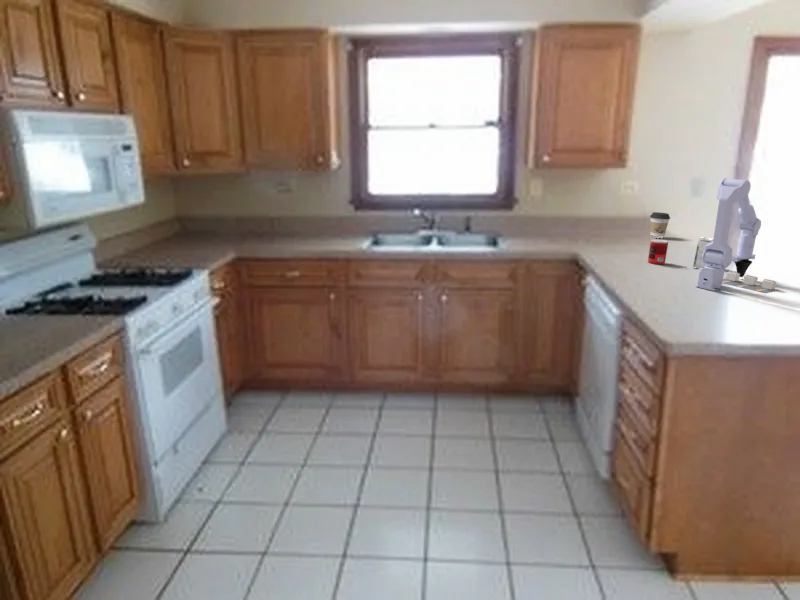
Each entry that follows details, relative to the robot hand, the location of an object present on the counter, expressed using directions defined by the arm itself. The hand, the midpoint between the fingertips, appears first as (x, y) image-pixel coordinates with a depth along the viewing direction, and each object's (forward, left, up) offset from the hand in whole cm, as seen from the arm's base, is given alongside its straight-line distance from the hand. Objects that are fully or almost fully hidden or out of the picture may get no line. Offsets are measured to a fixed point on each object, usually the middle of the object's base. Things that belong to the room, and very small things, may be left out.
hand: (740, 276), depth 265 cm
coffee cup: (+66, +86, -2) cm, 108 cm away
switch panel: (-9, -7, -2) cm, 12 cm away
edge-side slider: (-6, -15, -1) cm, 16 cm away
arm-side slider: (-6, 0, -1) cm, 6 cm away
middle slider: (-6, -7, -1) cm, 10 cm away
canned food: (-1, +40, -2) cm, 40 cm away
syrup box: (+9, +23, -2) cm, 25 cm away
